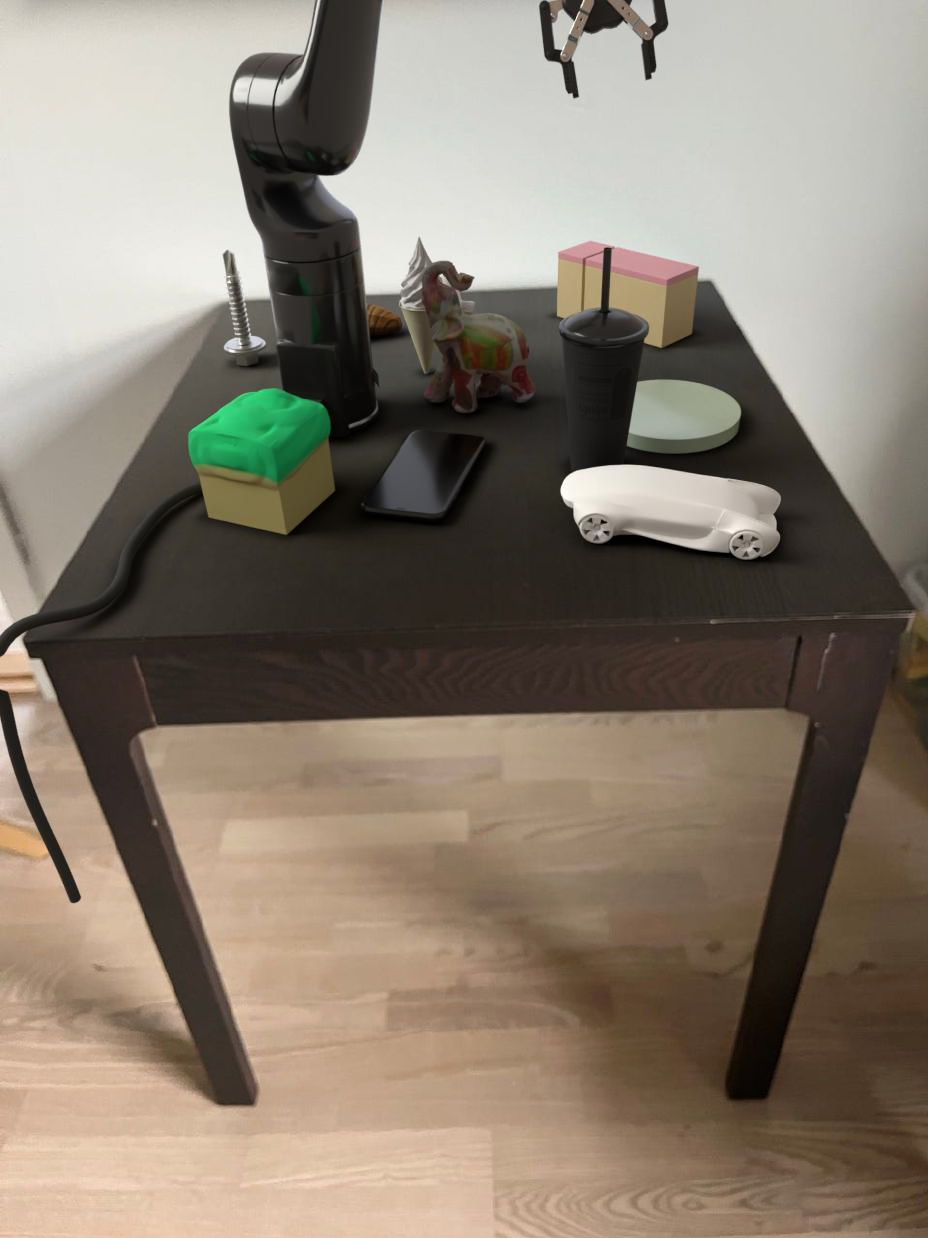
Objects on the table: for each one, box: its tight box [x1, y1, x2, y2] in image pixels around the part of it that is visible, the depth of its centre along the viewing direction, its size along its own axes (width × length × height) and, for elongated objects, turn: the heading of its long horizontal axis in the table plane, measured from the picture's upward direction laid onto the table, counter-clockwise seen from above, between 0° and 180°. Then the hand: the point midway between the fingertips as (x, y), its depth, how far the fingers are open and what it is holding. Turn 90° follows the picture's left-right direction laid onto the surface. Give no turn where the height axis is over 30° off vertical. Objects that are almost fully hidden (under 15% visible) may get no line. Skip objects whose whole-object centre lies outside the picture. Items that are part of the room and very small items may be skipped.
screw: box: [221, 249, 267, 367], centre depth 111 cm, size 13×5×5 cm
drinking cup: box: [558, 247, 649, 473], centre depth 85 cm, size 8×8×20 cm
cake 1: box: [187, 387, 336, 536], centre depth 85 cm, size 10×11×10 cm
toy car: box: [560, 464, 782, 561], centre depth 81 cm, size 18×8×4 cm, turn 75°
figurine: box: [421, 260, 536, 414], centre depth 98 cm, size 8×12×15 cm, turn 73°
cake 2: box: [584, 246, 700, 349], centre depth 116 cm, size 12×6×8 cm, turn 44°
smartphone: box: [360, 429, 487, 523], centre depth 90 cm, size 8×1×16 cm
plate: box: [626, 379, 742, 454], centre depth 98 cm, size 14×14×2 cm
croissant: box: [367, 301, 403, 337], centre depth 119 cm, size 14×7×5 cm, turn 84°
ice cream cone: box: [398, 236, 443, 375], centre depth 106 cm, size 5×5×15 cm
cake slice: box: [556, 240, 616, 319], centre depth 121 cm, size 4×6×8 cm, turn 134°
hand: (612, 88), depth 114 cm, fingers open, 8 cm apart
